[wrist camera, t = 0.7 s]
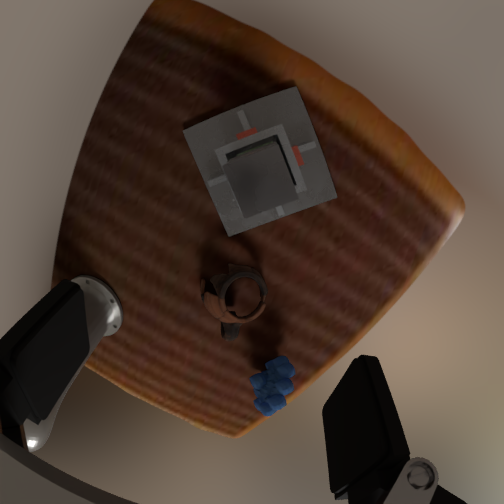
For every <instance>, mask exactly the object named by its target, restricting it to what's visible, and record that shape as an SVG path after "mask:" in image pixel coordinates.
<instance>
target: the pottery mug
mask: <svg viewBox="0 0 504 504" xmlns="http://www.w3.org/2000/svg"><path fill="white" fill-rule="evenodd" d="M228 266H229V274H228V275H226V274H219V275H213V276H212V278H211V279H210V282H212V283H213V286H214V288H215V290H216V293H217V295H214V294H212V293H210V292H208V291H207V292H205V293H204V288H205V283H206V281H205V279H204V278H203V279H202V280H201V297H202V300H203V303H204V305H205V306H206V308H207V310H208V311H209V312H210V313H211V314H212V315H213V316H214V317H215V318H216V319H219V320H220V321H221V335H222V338H223V339H224V340H226V341H233V340H234V339H236V338H237V336H238V333H239V328H240V326H241V325H242V324H243V323H246V322H249V321H252V320H254V319H255V318H257V317H258V316H259V315H260V314H261V313H262V312H263V310H264V308H265V306H266V303H265V302H264V300H265V296H266V294H267V293H268V289H267V286H266V284H265V281H264V279H263V278H262V276H261V275H260V273H259V272H258V271H256V270H255V269H254V268H250V267H249V266H245V265H234V264H228ZM241 277H249V278H252V279H254V280H255V281H256V282H257V283H258V284H259V287H260V296H261V301H260V303H259V305H258V307H257V308H256V309H255V310H254V311H253V312H252V313H251V314H249V315H247V316H243V317H238V316H237V315H236V313H235V311H228V309H227V307H226V304H225V293H226V290H227V288H228V287H229V285H230V284H231V283H232V282H233V281H234V280H235V279H238V278H241Z"/></svg>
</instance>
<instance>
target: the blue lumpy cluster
mask: <svg viewBox="0 0 504 504" xmlns="http://www.w3.org/2000/svg"><path fill="white" fill-rule="evenodd" d="M265 366H266V369H267V370H266V371H263V372H261V373H257V374H255V375H253V376H251V377H250V381H251V384H252V386H253V387H254V389H253V390H254V393H255V395H256V396H257V399H255V400H254V404H255V407H256V408H257V409H258V410H259V411H261V413H262V414H263V415H265V416H271V415H273V414H274V413H275V412H276V411H277V410H280V409H282V408H283V407H285V406H286V405H287V403H286V400H285V397H284V396H283V395H287V394H289V393H290V392H292V391H293V390H294V386H293V383H292V381H291V380H290V379H289V378H291V377H292V376H294V375H295V369H294V367H293V365H292V364H291V363H289V360H288V358H287V357H286V356H279V357H277V358H275V359H273V360H270V361H268V362H267V363H265Z"/></svg>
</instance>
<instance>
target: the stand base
mask: <svg viewBox="0 0 504 504" xmlns="http://www.w3.org/2000/svg"><path fill="white" fill-rule="evenodd" d="M183 133H184V135H185V138H186V140H187V142H188V145H189V147H190V149H191V152H192V154H193V156H194V159H195V161H196V163H197V166H198V168H199V170H200V173H201V175H202V177H203V179H204V182H205V184H206V186H207V189H208V191H209V193H210V196H211V198H212V200H213V202H214V205H215V207H216V209H217V211H218V214H219V216H220V218H221V221H222V223H223V225H224V227H225V230H226V232H227V234H228V236H229V237H230V236H232V235H235V234H238V233H240V232H243V231H246V230H248V229H251V228H254V227H256V226H259V225H262V224H265V223H267V222H270V221H273V220H276V219H278V218H281V217H284V216H287V215H289V214H292V213H295V212H298V211H300V210H303V209H306V208H309V207H312V206H314V205H317V204H320V203H323V202H326V201H328V200H331V199H334V198H337V194H336V191H335V188H334V185H333V182H332V179H331V176H330V173H329V170H328V167H327V164H326V161H325V158H324V155H323V153H322V150H321V147H320V144H319V142H318V139H317V136H316V134H315V131H314V128H313V126H312V123H311V121H310V118H309V116H308V113H307V111H306V108H305V106H304V103H303V101H302V98H301V96H300V94H299V91H298V89H297V87H296V86H295V87H292V88H289V89H286V90H283V91H280V92H277V93H274V94H271V95H268V96H265V97H263V98H260V99H257V100H254V101H252V102H249V103H246V104H244V105H241V106H239V107H236V108H234V109H231V110H229V111H226V112H224V113H221V114H219V115H217V116H214V117H212V118H210V119H207V120H205V121H203V122H201V123H198V124H196V125H194V126H192V127H190V128H188V129H185V130H183ZM271 141H273V142H277V144H278V145H279V147H280V150H281V153H282V155H283V158H284V160H285V163H286V165H287V168H288V171H289V173H290V176H291V179H292V181H293V184H294V187H295V189H296V192H297V195H298V198H299V199H297V200H295V201H292V202H289V203H286V204H284V205H281V206H278V207H275V208H273V209H270V210H267V211H265V212H262V213H259V214H257V215H254V216H251V217H249V218H246V219H244V216H243V214H242V212H241V209H240V207H239V205H238V202H237V200H236V197H235V195H234V193H233V190H232V188H231V186H230V183H229V181H228V178H227V176H226V174H225V171H224V169H223V167H222V166H223V165H224V164H226V163H227V161H228V160H230V159H231V158H234V157H236V155H237V154H239V153H242V152H244V151H247V150H249V149H252V148H255V147H257V146H260V145H263V144H265V143H268V142H271Z"/></svg>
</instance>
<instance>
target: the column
mask: <svg viewBox="0 0 504 504" xmlns="http://www.w3.org/2000/svg"><path fill="white" fill-rule="evenodd" d="M222 167H223V169H224V171H225V174H226V176H227V178H228V181H229V183H230V186H231V188H232V190H233V193H234V195H235V197H236V200H237V202H238V205H239V207H240V209H241V212H242V214H243V216H244V219H246V218H249V217H251V216H254V215H257V214H259V213H262V212H265V211H267V210H270V209H273V208H275V207H278V206H281V205H284V204H286V203H289V202H292V201H295V200H297V199H299V198H298V195H297V192H296V189H295V187H294V184H293V181H292V179H291V176H290V173H289V171H288V168H287V165H286V163H285V160H284V158H283V155H282V153H281V150H280V147H279V145H278V144H277V142H273V141H271V142H268V143H265V144H263V145H260V146H257V147H255V148H252V149H249V150H247V151H244V152H242V153H239V154H237V155H236V157H234V158H231V159H230V160H228V161H227V163H226V164H224V165H223V166H222Z"/></svg>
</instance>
